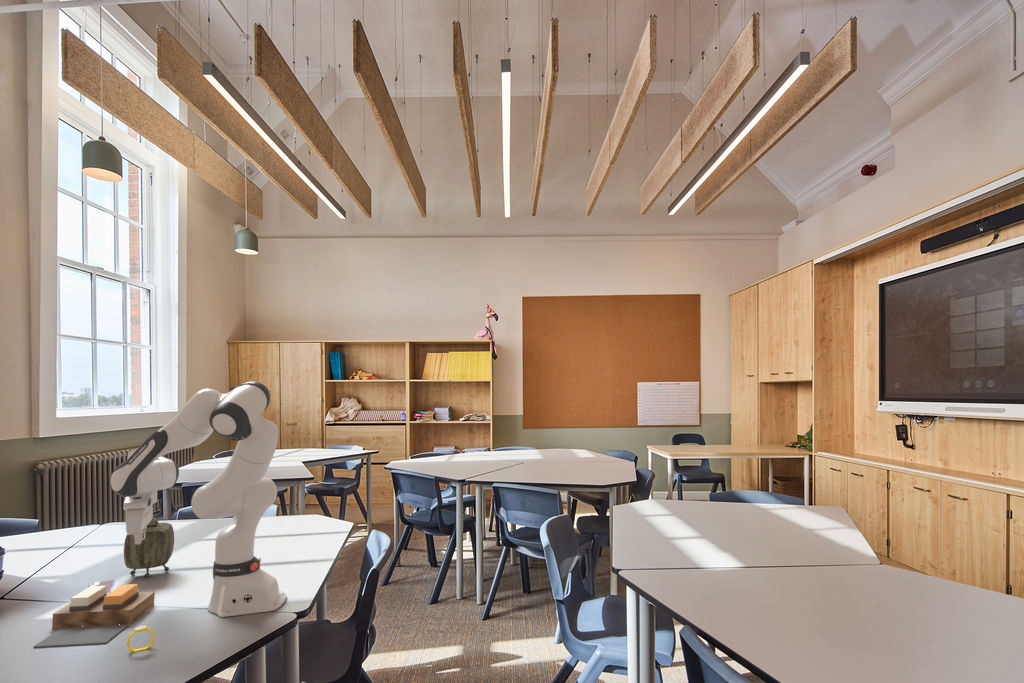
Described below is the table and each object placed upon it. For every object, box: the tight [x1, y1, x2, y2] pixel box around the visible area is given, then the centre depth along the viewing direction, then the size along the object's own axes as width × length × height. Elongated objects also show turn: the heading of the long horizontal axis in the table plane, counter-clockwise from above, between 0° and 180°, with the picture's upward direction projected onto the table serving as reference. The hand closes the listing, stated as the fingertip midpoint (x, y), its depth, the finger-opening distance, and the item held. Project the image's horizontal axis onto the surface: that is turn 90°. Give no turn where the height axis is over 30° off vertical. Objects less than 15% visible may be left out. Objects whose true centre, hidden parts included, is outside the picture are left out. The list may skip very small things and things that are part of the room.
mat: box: [33, 624, 130, 649], centre depth 161 cm, size 18×12×1 cm, turn 97°
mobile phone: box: [87, 579, 116, 594], centre depth 196 cm, size 8×1×15 cm
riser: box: [51, 591, 156, 629], centre depth 174 cm, size 21×14×4 cm, turn 97°
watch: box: [126, 624, 155, 654], centre depth 153 cm, size 6×3×6 cm, turn 124°
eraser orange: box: [103, 583, 140, 609], centre depth 175 cm, size 5×10×4 cm, turn 7°
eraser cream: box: [69, 585, 107, 611], centre depth 174 cm, size 5×10×4 cm, turn 7°
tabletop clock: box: [123, 505, 175, 579], centre depth 210 cm, size 14×9×25 cm, turn 111°
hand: (139, 541), depth 185 cm, fingers open, 3 cm apart
